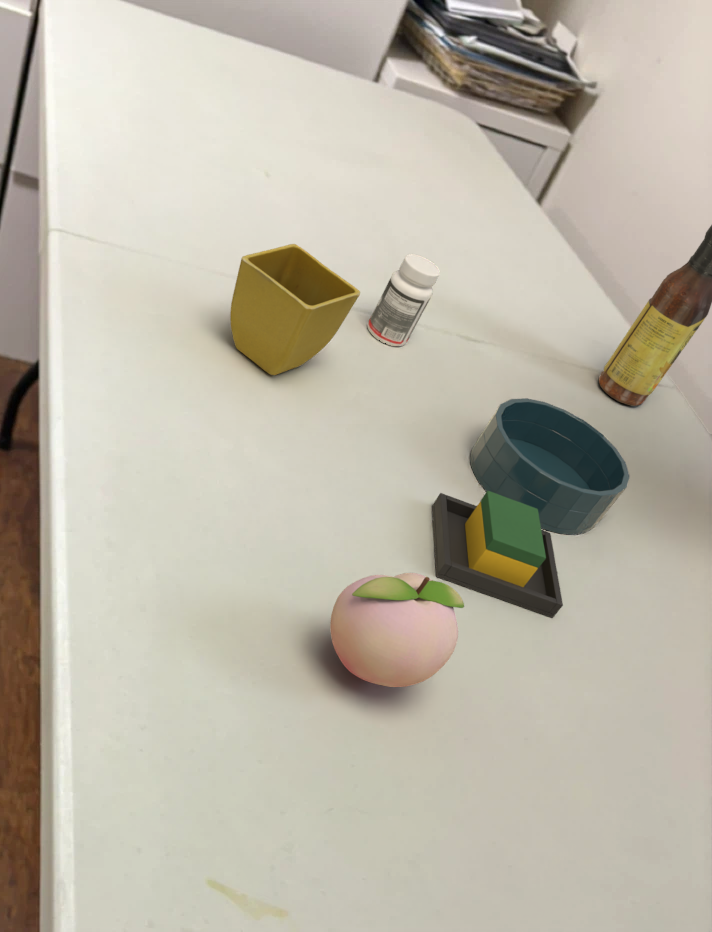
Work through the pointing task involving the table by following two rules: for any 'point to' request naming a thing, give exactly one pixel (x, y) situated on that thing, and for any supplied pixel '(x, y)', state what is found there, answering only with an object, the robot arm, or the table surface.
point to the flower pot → (287, 307)
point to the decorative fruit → (395, 628)
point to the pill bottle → (403, 300)
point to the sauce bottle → (661, 330)
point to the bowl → (550, 464)
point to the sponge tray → (455, 568)
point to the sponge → (505, 539)
